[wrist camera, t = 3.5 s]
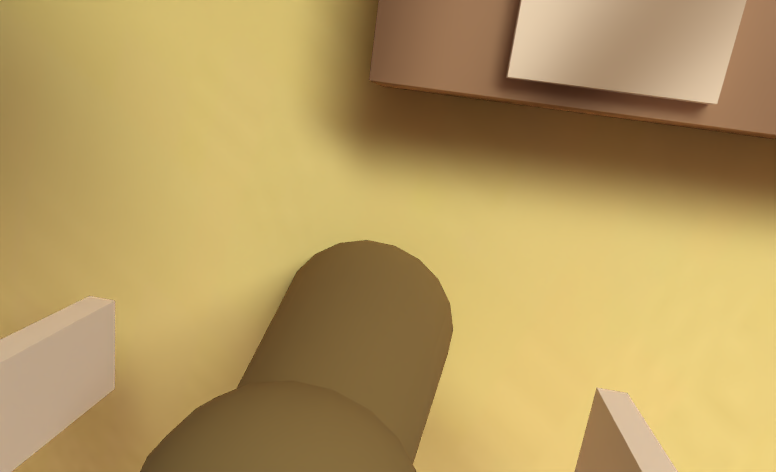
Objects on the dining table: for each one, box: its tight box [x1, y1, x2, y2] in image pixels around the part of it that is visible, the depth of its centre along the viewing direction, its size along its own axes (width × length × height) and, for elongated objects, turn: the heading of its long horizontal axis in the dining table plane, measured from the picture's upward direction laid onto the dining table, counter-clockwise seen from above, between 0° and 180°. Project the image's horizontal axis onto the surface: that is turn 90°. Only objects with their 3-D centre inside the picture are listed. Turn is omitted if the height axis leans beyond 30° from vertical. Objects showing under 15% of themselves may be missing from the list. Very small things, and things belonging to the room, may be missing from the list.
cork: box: [140, 240, 453, 472], centre depth 12 cm, size 6×6×11 cm
